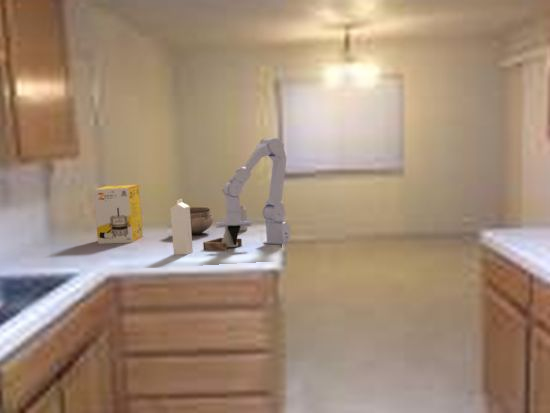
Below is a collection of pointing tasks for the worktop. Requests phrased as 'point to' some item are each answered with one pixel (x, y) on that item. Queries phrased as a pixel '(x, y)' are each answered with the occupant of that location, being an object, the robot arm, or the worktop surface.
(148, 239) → the worktop surface
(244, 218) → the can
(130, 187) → the packaging box
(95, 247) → the worktop surface
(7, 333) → the worktop surface
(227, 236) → the flask
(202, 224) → the cooking pot
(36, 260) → the worktop surface
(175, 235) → the milk
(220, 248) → the box
